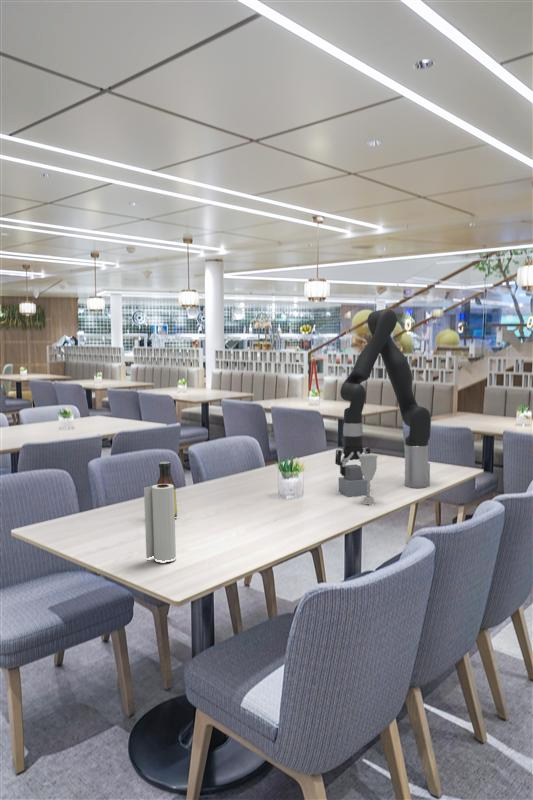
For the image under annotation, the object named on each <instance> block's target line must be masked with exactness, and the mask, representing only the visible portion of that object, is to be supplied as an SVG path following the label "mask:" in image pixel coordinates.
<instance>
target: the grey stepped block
mask: <svg viewBox="0 0 533 800" xmlns="http://www.w3.org/2000/svg"><path fill="white" fill-rule="evenodd" d="M344 467H345V476H339V477H338V493H339V492H340V494H341V493H342V494H341V495H343V494H344V495H343V496H345V497H346V498H351V497H352V496H354V497H362V496H361V495H364V496H367V491H366V490H367V486H366V485H367V480H365V478H364V476H363V474H362V471H361V465H359V464H346V465H345V466H344ZM352 498H353V497H352Z"/></svg>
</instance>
